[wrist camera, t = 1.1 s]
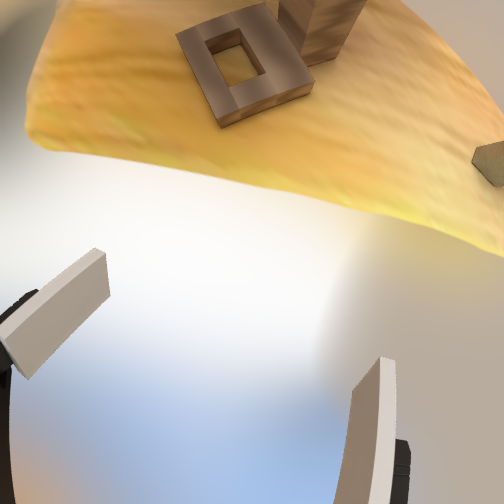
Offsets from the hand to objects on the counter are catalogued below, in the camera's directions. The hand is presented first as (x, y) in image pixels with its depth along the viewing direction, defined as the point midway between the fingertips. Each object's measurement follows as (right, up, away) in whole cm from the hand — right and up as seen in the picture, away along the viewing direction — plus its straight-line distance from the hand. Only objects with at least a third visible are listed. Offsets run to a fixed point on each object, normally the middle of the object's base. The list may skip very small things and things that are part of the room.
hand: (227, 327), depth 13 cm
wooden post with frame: (+3, +28, +20) cm, 35 cm away
